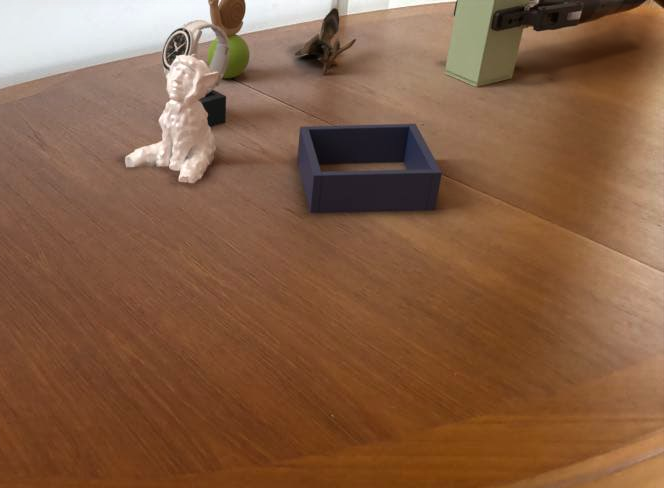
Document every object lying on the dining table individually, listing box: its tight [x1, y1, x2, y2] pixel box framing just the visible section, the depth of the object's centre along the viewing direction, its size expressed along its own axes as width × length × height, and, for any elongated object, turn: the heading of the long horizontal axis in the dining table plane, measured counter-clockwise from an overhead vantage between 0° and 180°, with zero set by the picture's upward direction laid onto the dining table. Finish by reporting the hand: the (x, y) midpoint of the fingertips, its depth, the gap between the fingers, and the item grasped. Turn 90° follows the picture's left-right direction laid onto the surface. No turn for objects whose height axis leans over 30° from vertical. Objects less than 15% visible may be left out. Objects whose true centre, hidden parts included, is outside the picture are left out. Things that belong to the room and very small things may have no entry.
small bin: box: [444, 0, 530, 88], centre depth 109 cm, size 6×6×12 cm
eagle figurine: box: [294, 7, 357, 76], centre depth 117 cm, size 8×7×9 cm
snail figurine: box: [207, 0, 250, 79], centre depth 113 cm, size 5×6×12 cm
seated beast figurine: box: [124, 55, 219, 184], centre depth 91 cm, size 10×9×12 cm
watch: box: [161, 19, 230, 128], centre depth 102 cm, size 6×8×11 cm
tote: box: [296, 123, 443, 214], centre depth 87 cm, size 12×12×5 cm
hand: (475, 14), depth 107 cm, fingers closed on small bin, 5 cm apart
